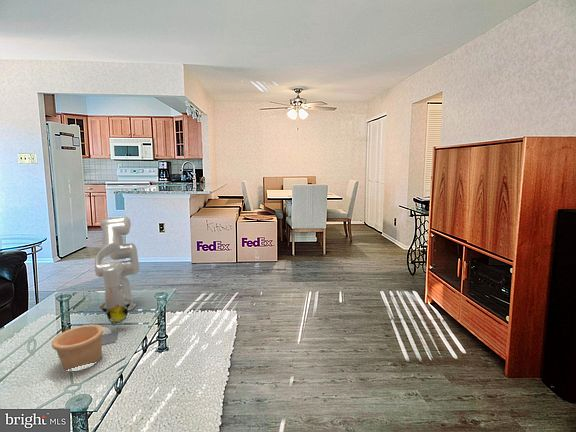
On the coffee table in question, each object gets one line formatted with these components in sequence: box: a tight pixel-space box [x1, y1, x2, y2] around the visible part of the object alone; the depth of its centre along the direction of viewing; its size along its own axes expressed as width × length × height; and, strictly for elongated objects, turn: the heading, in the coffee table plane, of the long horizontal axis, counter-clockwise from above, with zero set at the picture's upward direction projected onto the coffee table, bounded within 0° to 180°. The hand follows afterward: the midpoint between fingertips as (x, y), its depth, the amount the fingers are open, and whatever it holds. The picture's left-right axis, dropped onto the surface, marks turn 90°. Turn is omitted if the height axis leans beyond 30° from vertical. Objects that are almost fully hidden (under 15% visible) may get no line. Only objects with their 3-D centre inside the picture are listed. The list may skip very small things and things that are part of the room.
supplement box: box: [109, 305, 127, 324], centre depth 206 cm, size 6×6×11 cm
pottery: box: [51, 323, 104, 371], centre depth 176 cm, size 22×22×14 cm
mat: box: [101, 331, 119, 346], centre depth 196 cm, size 12×20×1 cm, turn 111°
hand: (118, 316), depth 206 cm, fingers closed on supplement box, 8 cm apart
